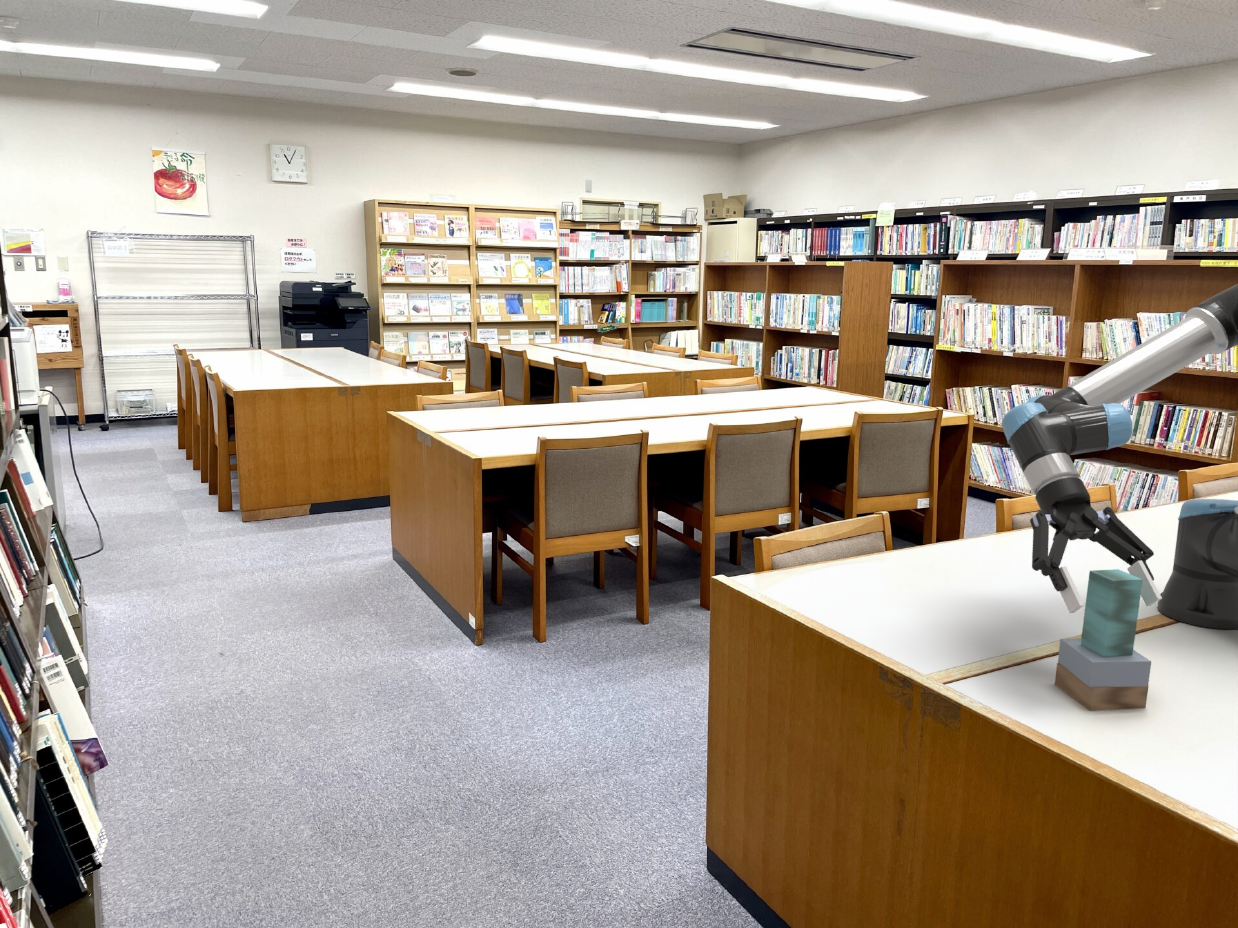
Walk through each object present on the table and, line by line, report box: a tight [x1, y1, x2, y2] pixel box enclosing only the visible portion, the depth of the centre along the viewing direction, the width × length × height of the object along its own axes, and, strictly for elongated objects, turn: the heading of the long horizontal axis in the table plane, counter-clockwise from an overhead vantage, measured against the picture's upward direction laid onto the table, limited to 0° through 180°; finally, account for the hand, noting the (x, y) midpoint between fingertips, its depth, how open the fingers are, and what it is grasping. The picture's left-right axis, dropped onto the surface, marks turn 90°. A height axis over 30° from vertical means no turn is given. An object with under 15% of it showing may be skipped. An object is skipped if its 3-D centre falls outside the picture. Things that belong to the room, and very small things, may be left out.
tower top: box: [1057, 637, 1152, 687], centre depth 137 cm, size 9×9×4 cm
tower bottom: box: [1054, 662, 1150, 712], centre depth 137 cm, size 9×9×4 cm
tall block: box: [1080, 568, 1143, 657], centre depth 135 cm, size 5×5×12 cm
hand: (1116, 606), depth 133 cm, fingers open, 13 cm apart
